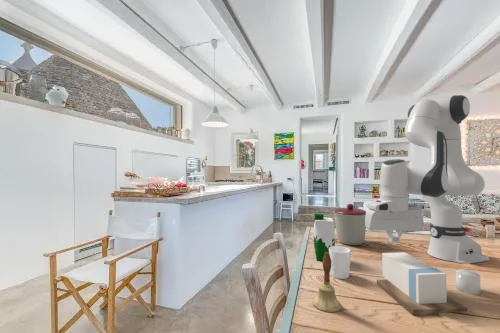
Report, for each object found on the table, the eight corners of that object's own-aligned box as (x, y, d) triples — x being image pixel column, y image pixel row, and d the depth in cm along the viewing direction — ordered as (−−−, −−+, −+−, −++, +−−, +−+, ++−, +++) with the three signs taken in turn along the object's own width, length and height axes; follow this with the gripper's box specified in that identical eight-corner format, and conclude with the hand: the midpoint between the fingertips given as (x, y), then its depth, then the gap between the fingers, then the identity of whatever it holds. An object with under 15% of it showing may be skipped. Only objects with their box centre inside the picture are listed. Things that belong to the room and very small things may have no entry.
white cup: (348, 281, 89) (348, 254, 89) (326, 276, 93) (326, 250, 93) (352, 273, 95) (352, 247, 95) (331, 269, 100) (331, 244, 99)
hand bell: (333, 296, 79) (332, 247, 79) (346, 311, 71) (345, 256, 71) (308, 298, 78) (308, 248, 78) (319, 313, 70) (318, 258, 70)
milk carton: (313, 254, 116) (313, 212, 116) (333, 255, 114) (332, 212, 114) (314, 261, 108) (314, 216, 108) (336, 262, 106) (335, 216, 106)
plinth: (420, 282, 87) (420, 278, 87) (467, 312, 69) (467, 307, 69) (376, 284, 87) (376, 279, 87) (412, 315, 69) (412, 309, 69)
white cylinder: (468, 286, 84) (468, 269, 84) (485, 296, 78) (485, 277, 78) (451, 287, 84) (451, 269, 84) (467, 296, 78) (467, 277, 78)
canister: (346, 249, 122) (345, 207, 122) (326, 238, 140) (326, 202, 140) (377, 246, 126) (376, 205, 126) (354, 236, 144) (353, 200, 144)
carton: (404, 252, 90) (446, 273, 72) (405, 275, 90) (446, 302, 72) (382, 252, 89) (418, 274, 71) (382, 276, 89) (418, 304, 71)
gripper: (415, 202, 92) (415, 238, 92) (362, 203, 91) (363, 240, 92) (428, 204, 86) (428, 243, 86) (371, 206, 85) (372, 245, 85)
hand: (394, 242), depth 89 cm, fingers closed
